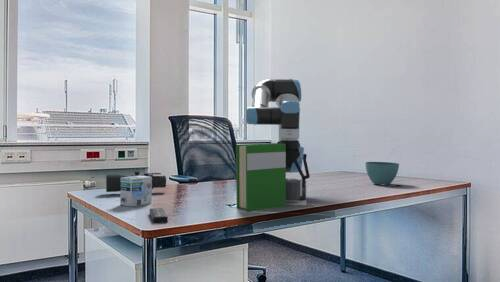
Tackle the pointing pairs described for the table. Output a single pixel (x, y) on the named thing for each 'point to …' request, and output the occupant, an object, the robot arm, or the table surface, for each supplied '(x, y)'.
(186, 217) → the table surface
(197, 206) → the table surface
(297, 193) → the grey cylinder
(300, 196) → the lens barrel
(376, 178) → the teal bowl
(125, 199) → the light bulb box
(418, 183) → the table surface
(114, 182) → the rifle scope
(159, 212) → the multiport hub
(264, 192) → the hardback book
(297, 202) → the mat
